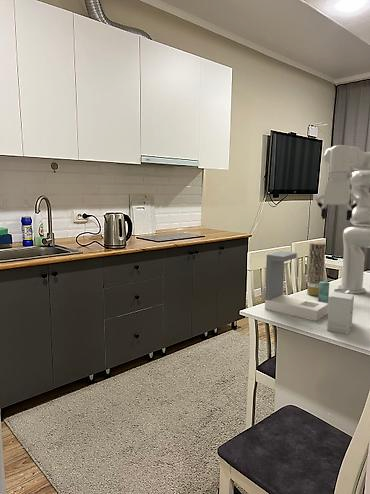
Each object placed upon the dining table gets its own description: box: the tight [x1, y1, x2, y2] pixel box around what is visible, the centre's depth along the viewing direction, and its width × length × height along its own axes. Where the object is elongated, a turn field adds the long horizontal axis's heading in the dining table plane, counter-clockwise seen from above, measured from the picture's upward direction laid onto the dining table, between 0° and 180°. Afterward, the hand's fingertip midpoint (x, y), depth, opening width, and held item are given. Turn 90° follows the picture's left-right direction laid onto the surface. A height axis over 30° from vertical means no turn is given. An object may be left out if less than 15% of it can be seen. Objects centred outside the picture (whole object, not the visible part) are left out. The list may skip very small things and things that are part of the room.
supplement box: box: [326, 291, 355, 335], centre depth 132 cm, size 7×7×13 cm
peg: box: [317, 281, 330, 304], centre depth 160 cm, size 4×4×10 cm
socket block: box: [264, 250, 329, 322], centre depth 151 cm, size 12×22×23 cm, turn 49°
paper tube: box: [306, 240, 326, 297], centre depth 176 cm, size 7×7×25 cm
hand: (336, 219), depth 153 cm, fingers open, 9 cm apart
